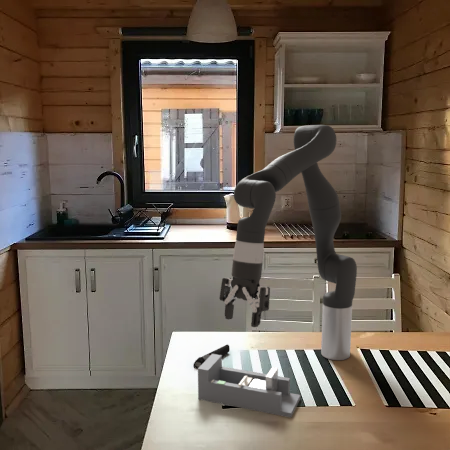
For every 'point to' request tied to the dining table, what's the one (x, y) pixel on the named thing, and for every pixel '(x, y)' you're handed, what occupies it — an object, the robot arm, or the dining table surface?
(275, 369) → the notched taupe block
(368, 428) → the dining table surface
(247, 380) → the drag pointer
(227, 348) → the electric trimmer
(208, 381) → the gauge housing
